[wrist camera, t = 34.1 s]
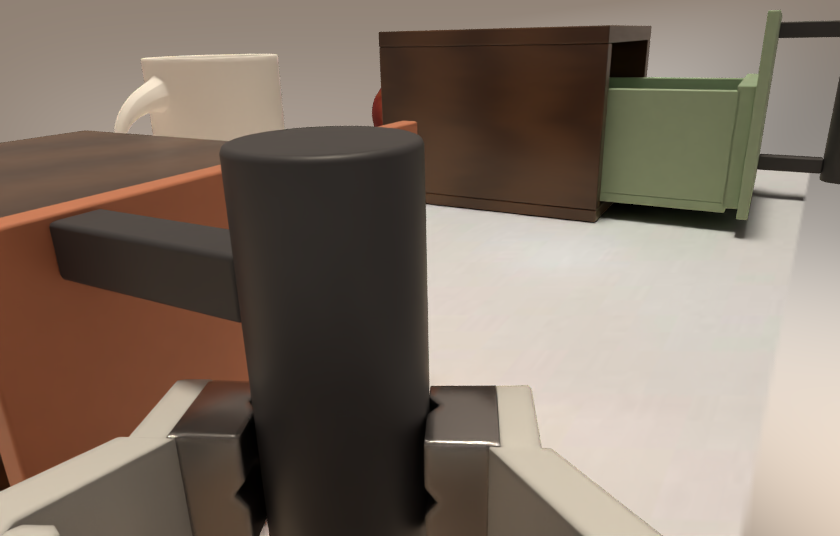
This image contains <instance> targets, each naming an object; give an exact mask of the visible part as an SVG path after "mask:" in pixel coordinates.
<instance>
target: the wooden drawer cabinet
mask: <svg viewBox="0 0 840 536" xmlns="http://www.w3.org/2000/svg"><path fill="white" fill-rule="evenodd" d="M650 36H651V26H619V25H618V26H617V25H606V26H605V25H604V26H569V27H534V28H499V29H466V30H431V31H397V32H379V46H380V72H381V96H382V120H383V125H387V124H391V123H395V122H399V121H415V122H417V134H418V135H419V136H421V137H422V139H423V142H424V148H425V199H426V203H428V204H437V205H446V206H455V207H463V208H472V209H481V210H490V211H499V212H508V213H517V214H526V215H535V216H544V217H553V218H562V219H570V220H579V221H588V222H595V221H596V220H597V219H598V218H599V217H600V216H601V215H602V214H603V213H604V212H605V211H606V210H607V209H608V208H609V207H610V206H611V205H612V204H613V203H614V202H606V201H600V191H601V179H602V166H603V153H604V140H605V127H606V114H607V102H608V89H609V77H647V67H648V57H649V47H650Z"/></svg>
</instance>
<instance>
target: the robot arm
mask: <svg viewBox="0 0 840 536" xmlns="http://www.w3.org/2000/svg"><path fill="white" fill-rule="evenodd" d="M429 400H430V413H429V414H428V415H427V421H426V431H425V440H424V473H425V488H426V490H427V491H428V492H427V503H426V515H425V519H426V536H662V535H661V534H660V533H659V532H657V531H656V530H655V529H653V528H652V527H651V526H650V525H648V524H647V523H646V522H645V521H643V520H642V519H641V518H639V517H638V516H637V515H636V514H634V513H633V512H632V511H630V510H629V509H628V508H627V507H625V506H624V505H623V504H622V503H620V502H619V501H618V500H616V499H615V498H614V497H613V496H611V495H610V494H609V493H608V492H606V491H605V490H604V489H602V488H601V487H600V486H599V485H597V484H596V483H595V482H593V481H592V480H591V479H590V478H588V477H587V476H586V475H585V474H583V473H582V472H581V471H579V470H578V469H577V468H576V467H574V466H573V465H572V464H571V463H569V462H568V461H567V460H565V459H564V458H563V457H562V456H560V455H559V454H558V453H557V452H555V451H554V450H553V449H547V448H542V446H541V441H540V435H539V429H538V424H537V418H536V412H535V407H534V401H533V395H532V390H531V387H530V386H528V385H521V386H431V387H430V395H429ZM266 518H267V513H266V505H265V497H264V490H263V482H262V475H261V467H260V460H259V452H258V444H257V437H256V429H255V422H254V414H253V407H252V399H251V391H250V384H249V381H228V380H211V379H184V380H178V381H177V382H176V383H175V384H174V385H173V386H172V387H171V388H170V390H169V391H168V392H167V393H166V394H165V395H164V396H163V398H162V399H161V400H160V401H159V402H158V403H157V405H156V406H155V407H154V408H153V409H152V410H151V412H150V413H149V414H148V415H147V416H146V417H145V418H144V420H143V421H142V422H141V423H140V424H139V425H138V427H137V428H136V429H135V430H134V431H133V432H132V434H131V435H130V436H129V437H117V438H115V439H113V440H110V441H108V442H106V443H104V444H102V445H100V446H98V447H95V448H93V449H91V450H89V451H87V452H85V453H82V454H80V455H78V456H76V457H74V458H72V459H69V460H67V461H65V462H63V463H61V464H59V465H56V466H54V467H52V468H50V469H48V470H46V471H44V472H41V473H39V474H37V475H35V476H33V477H31V478H28V479H26V480H24V481H22V482H20V483H18V484H15V485H13V486H11V487H9V488H7V489H5V490H3V491H0V536H259V535H260V532H261V530H262V528H263V525H264V523H265V521H266Z"/></svg>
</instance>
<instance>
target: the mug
mask: <svg viewBox="0 0 840 536" xmlns="http://www.w3.org/2000/svg"><path fill="white" fill-rule="evenodd" d="M141 66H142V72H143V78H144V84H143V85H142V86H141V87H139V88H138V89H137V90H136V91H135V92H133V93H132V94H131V95H130V96H129V97H128V99H127V100H126V101H125V103H124V104H123V106H122V107H121V110H120V111H119V113H118V116H117V119H116V122H115V128H114V133H126V134H127V133H128V131H129V129H130V127H131V126H132V125H133V123H134V122H135V121H136V120H138V119H139V118H140V117H142V116H144V115H146V114H148V113H149V114H150V120H151V126H152V132H153V136H167V137H180V138H194V139H208V140H221V141H231V140H233V139H235V138H238V137H242V136H246V135H250V134H255V133H261V132H267V131H275V130H283V129H285V126H284V115H283V106H282V94H281V83H280V73H279V62H278V55H276V54H225V55H196V56H195V55H193V56H168V57H150V58H142V59H141Z"/></svg>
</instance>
